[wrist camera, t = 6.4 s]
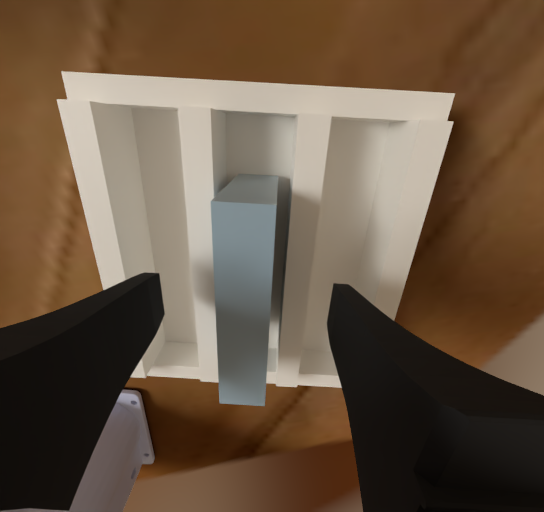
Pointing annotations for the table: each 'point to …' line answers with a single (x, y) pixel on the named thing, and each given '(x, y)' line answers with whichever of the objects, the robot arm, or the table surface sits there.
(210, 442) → the table surface
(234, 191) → the tile
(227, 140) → the rack
